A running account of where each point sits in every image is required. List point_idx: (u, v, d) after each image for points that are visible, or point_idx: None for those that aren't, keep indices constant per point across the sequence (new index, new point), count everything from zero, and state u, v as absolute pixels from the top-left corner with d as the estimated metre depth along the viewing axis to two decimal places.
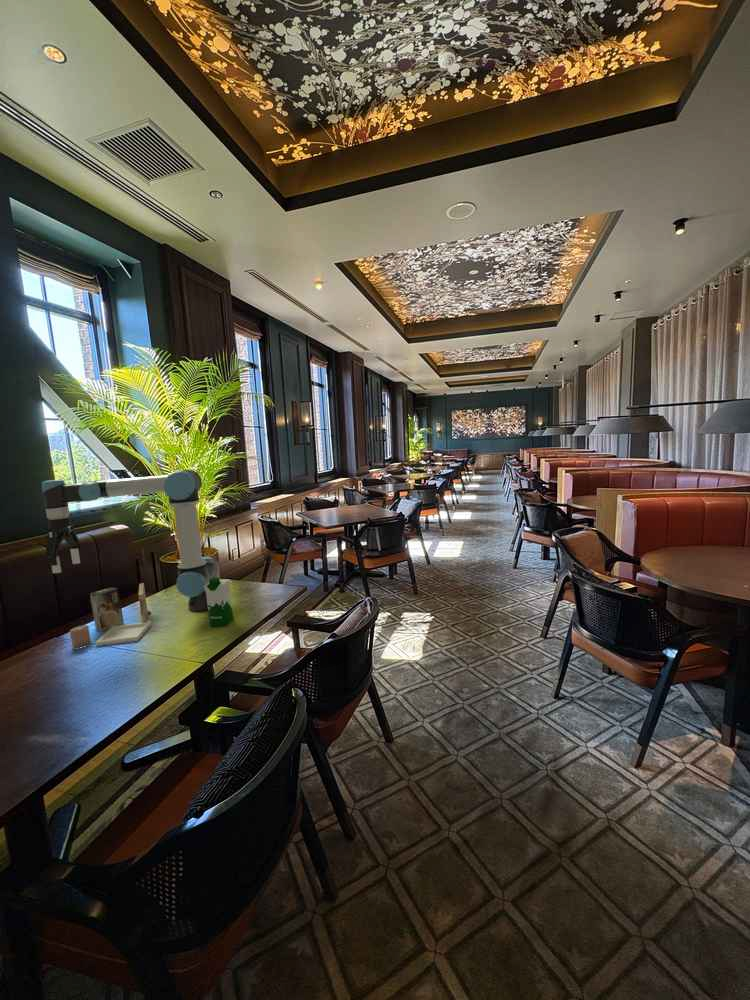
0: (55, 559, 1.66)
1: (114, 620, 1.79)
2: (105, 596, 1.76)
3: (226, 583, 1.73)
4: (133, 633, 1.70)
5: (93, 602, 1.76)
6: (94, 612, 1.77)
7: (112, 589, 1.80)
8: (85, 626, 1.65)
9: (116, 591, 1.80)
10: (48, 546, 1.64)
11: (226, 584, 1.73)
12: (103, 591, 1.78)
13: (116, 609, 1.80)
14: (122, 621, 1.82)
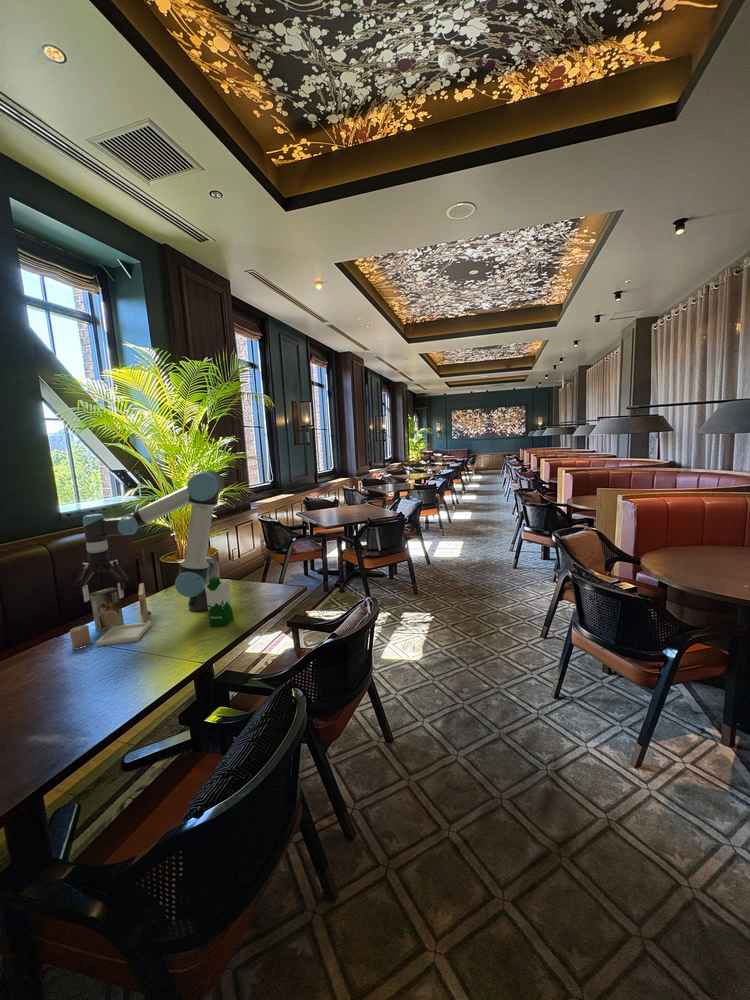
0: (82, 588, 1.77)
1: (114, 620, 1.79)
2: (105, 596, 1.76)
3: (226, 583, 1.73)
4: (133, 633, 1.70)
5: (93, 602, 1.76)
6: (94, 612, 1.77)
7: (112, 589, 1.80)
8: (85, 626, 1.65)
9: (116, 591, 1.80)
10: None
11: (226, 584, 1.73)
12: (103, 591, 1.78)
13: (116, 609, 1.80)
14: (122, 621, 1.82)
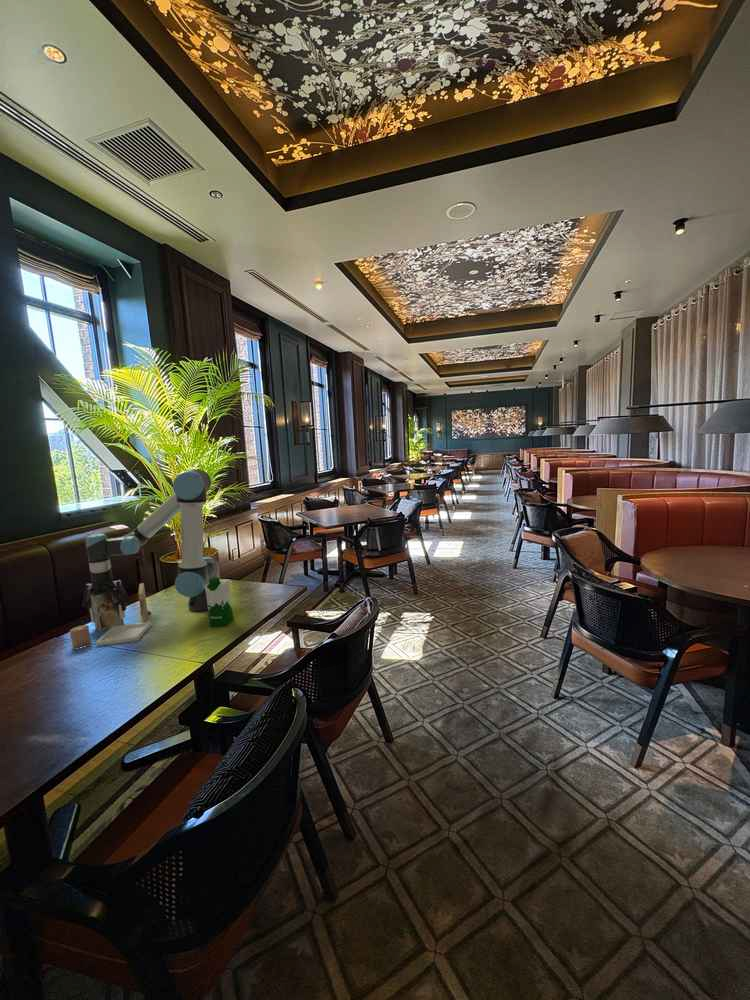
0: (89, 610, 1.78)
1: (114, 620, 1.79)
2: (105, 596, 1.76)
3: (226, 583, 1.73)
4: (133, 633, 1.70)
5: (93, 602, 1.76)
6: (94, 612, 1.77)
7: None
8: (85, 626, 1.65)
9: (116, 591, 1.80)
10: None
11: (226, 584, 1.73)
12: None
13: (116, 609, 1.80)
14: (122, 621, 1.82)
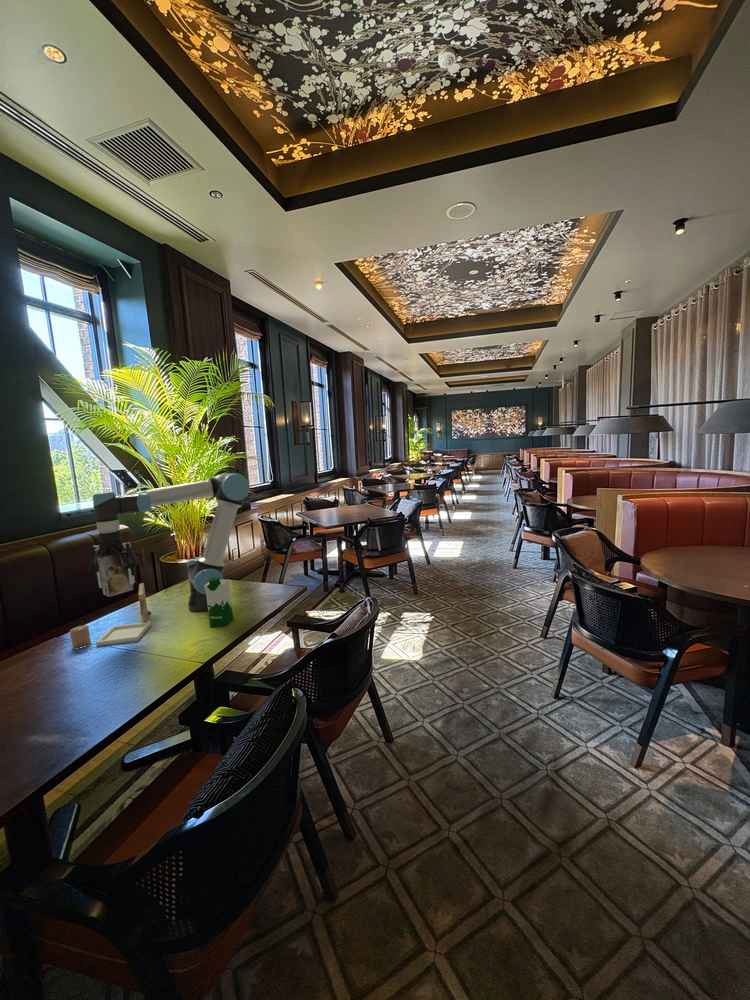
0: (96, 574, 1.65)
1: (123, 585, 1.66)
2: (114, 558, 1.63)
3: (226, 583, 1.73)
4: (133, 633, 1.70)
5: (101, 565, 1.63)
6: (102, 576, 1.64)
7: None
8: (85, 626, 1.65)
9: (125, 554, 1.67)
10: None
11: (226, 584, 1.73)
12: None
13: (125, 574, 1.67)
14: (132, 587, 1.69)
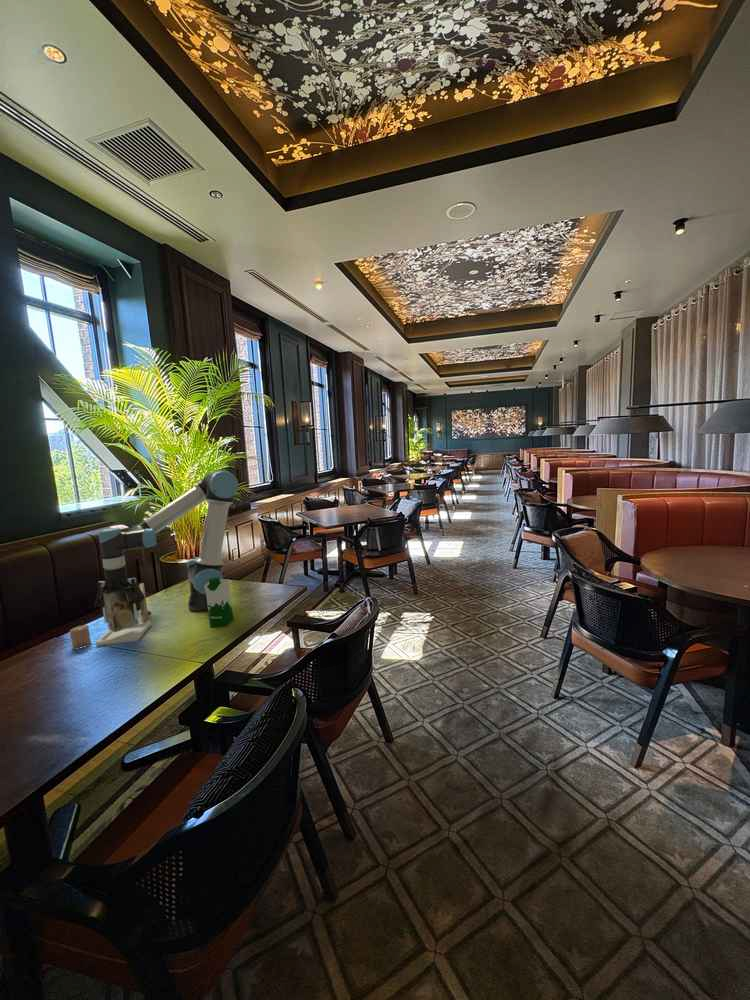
0: (102, 609, 1.67)
1: (128, 620, 1.68)
2: (119, 594, 1.65)
3: (226, 583, 1.73)
4: (133, 633, 1.70)
5: (106, 601, 1.65)
6: (107, 611, 1.66)
7: None
8: (85, 626, 1.65)
9: (130, 589, 1.69)
10: None
11: (226, 584, 1.73)
12: None
13: (130, 609, 1.69)
14: (136, 621, 1.71)
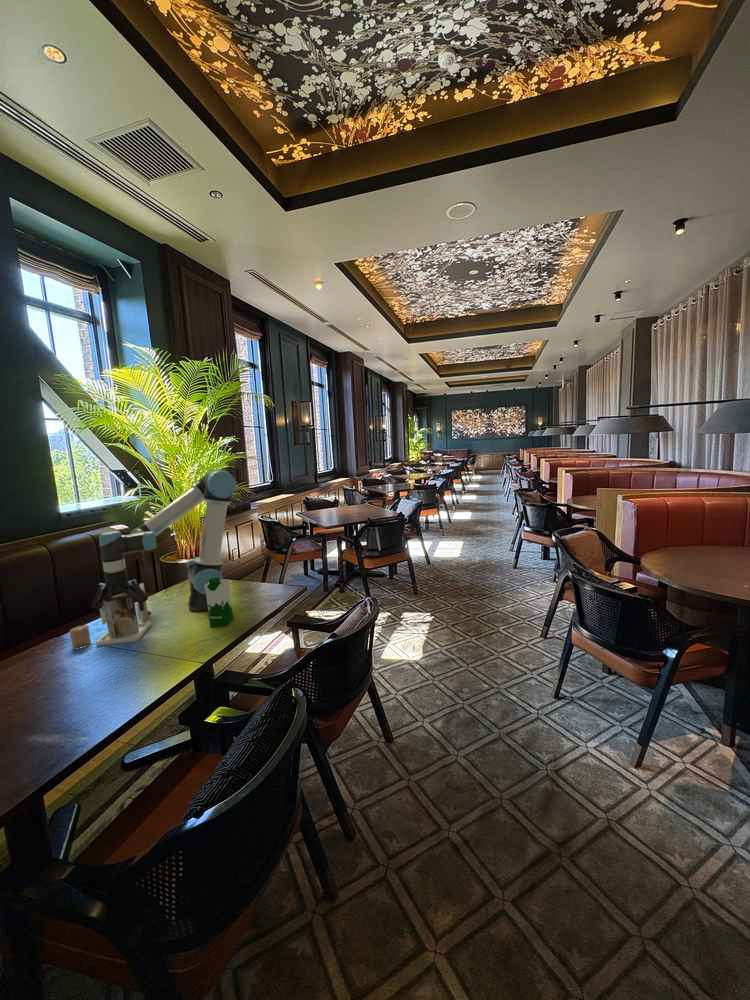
0: (99, 610, 1.67)
1: (129, 627, 1.69)
2: (120, 602, 1.66)
3: (226, 583, 1.73)
4: (133, 633, 1.70)
5: (107, 608, 1.65)
6: (108, 619, 1.66)
7: (126, 594, 1.70)
8: (85, 626, 1.65)
9: None
10: None
11: (226, 584, 1.73)
12: (117, 596, 1.68)
13: (130, 616, 1.69)
14: (137, 628, 1.72)
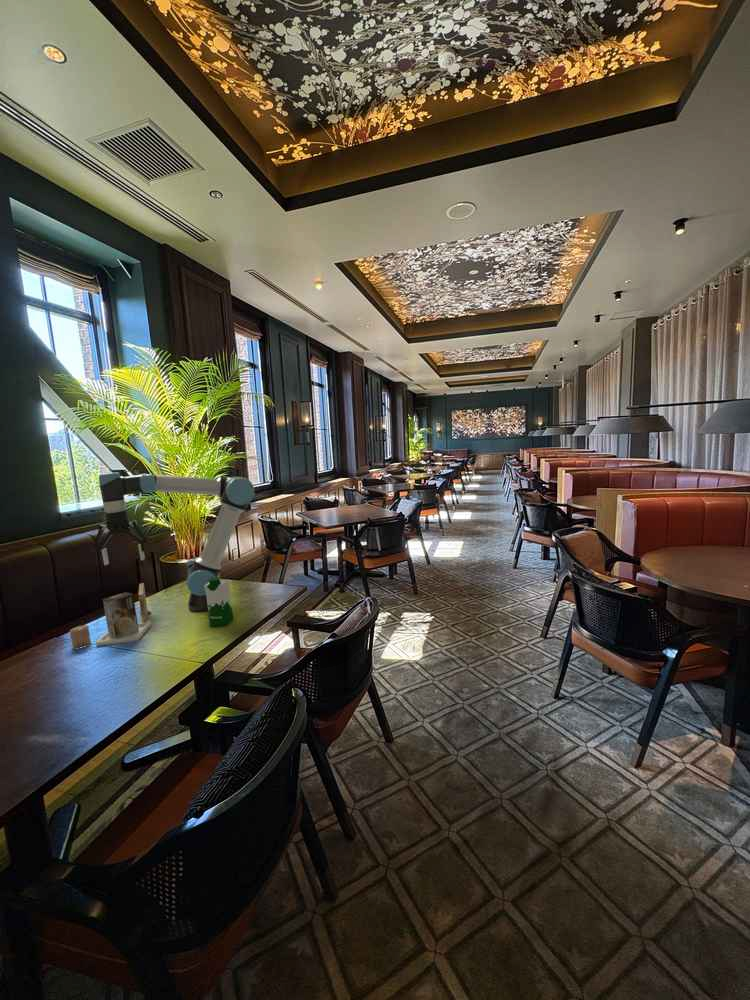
0: (101, 551, 1.69)
1: (129, 627, 1.69)
2: (120, 602, 1.66)
3: (226, 583, 1.73)
4: (133, 633, 1.70)
5: (107, 608, 1.65)
6: (108, 619, 1.66)
7: (126, 594, 1.70)
8: (85, 626, 1.65)
9: (131, 596, 1.69)
10: None
11: (226, 584, 1.73)
12: (117, 596, 1.68)
13: (130, 616, 1.69)
14: (137, 628, 1.72)
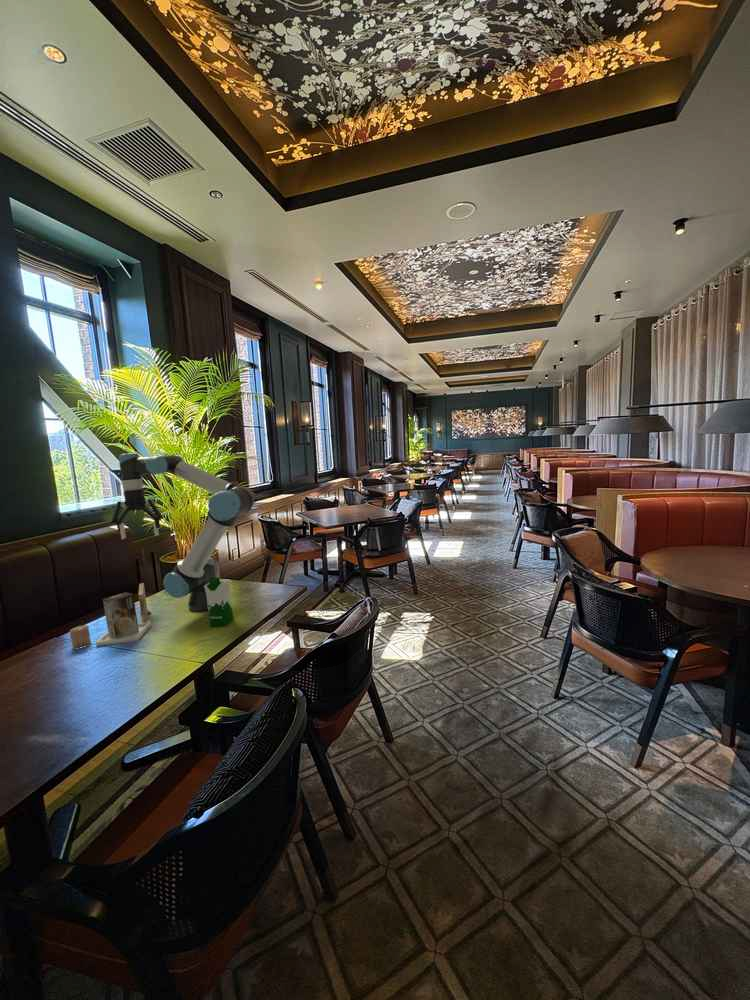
0: (118, 526, 1.82)
1: (129, 627, 1.69)
2: (120, 602, 1.66)
3: (226, 583, 1.73)
4: (133, 633, 1.70)
5: (107, 608, 1.65)
6: (108, 619, 1.66)
7: (126, 594, 1.70)
8: (85, 626, 1.65)
9: (131, 596, 1.69)
10: None
11: (226, 584, 1.73)
12: (117, 597, 1.68)
13: (130, 616, 1.69)
14: (137, 628, 1.72)
